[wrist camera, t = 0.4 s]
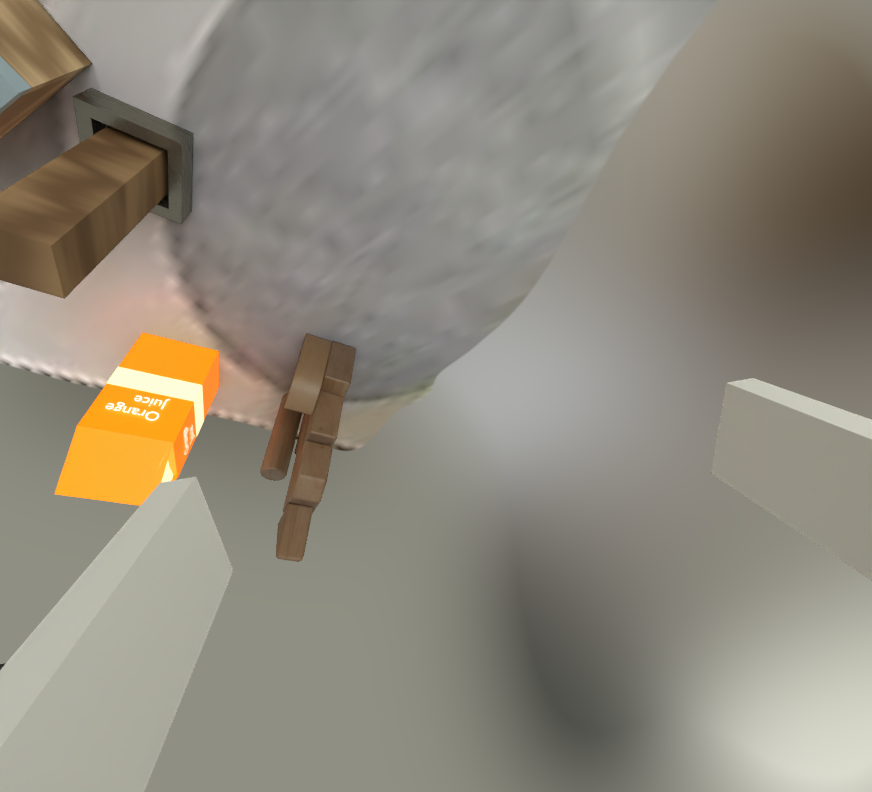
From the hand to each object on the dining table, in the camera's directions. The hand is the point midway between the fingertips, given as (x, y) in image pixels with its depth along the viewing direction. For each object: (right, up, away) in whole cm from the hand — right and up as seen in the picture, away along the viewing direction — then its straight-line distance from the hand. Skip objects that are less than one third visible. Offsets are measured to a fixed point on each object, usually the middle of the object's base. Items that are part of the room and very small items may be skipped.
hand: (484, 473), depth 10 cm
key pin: (-26, +23, +25) cm, 43 cm away
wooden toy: (-18, +5, +46) cm, 50 cm away
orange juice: (-35, +7, +44) cm, 56 cm away
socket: (-26, +23, +25) cm, 43 cm away
